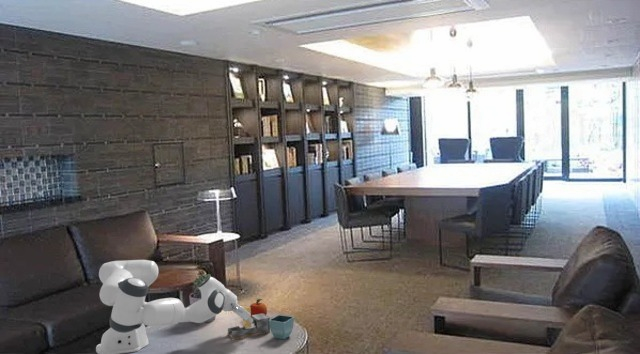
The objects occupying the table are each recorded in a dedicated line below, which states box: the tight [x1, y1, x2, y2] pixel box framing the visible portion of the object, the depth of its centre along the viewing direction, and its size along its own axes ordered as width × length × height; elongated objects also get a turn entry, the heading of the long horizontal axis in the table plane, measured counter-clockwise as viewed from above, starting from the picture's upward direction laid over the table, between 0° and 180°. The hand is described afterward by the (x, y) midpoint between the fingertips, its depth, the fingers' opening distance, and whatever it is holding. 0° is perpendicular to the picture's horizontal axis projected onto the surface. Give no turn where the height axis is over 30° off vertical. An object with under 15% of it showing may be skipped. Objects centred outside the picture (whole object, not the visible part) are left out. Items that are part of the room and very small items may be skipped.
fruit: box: [249, 298, 268, 318], centre depth 286 cm, size 10×10×10 cm
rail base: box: [227, 313, 271, 341], centre depth 265 cm, size 18×8×7 cm, turn 119°
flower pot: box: [269, 314, 295, 340], centre depth 259 cm, size 9×9×9 cm
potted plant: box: [188, 269, 217, 323], centre depth 286 cm, size 18×20×25 cm
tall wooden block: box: [241, 305, 257, 330], centre depth 266 cm, size 10×3×12 cm, turn 119°
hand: (248, 318), depth 264 cm, fingers open, 8 cm apart
